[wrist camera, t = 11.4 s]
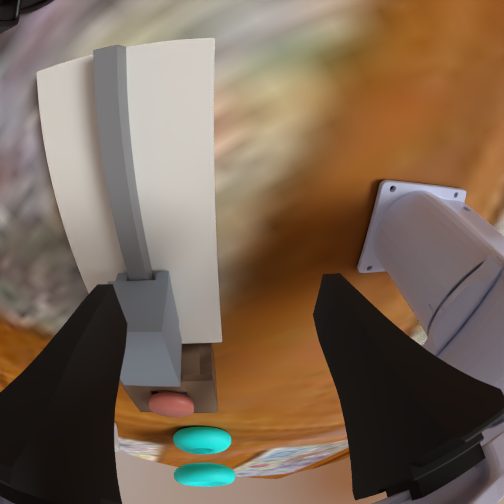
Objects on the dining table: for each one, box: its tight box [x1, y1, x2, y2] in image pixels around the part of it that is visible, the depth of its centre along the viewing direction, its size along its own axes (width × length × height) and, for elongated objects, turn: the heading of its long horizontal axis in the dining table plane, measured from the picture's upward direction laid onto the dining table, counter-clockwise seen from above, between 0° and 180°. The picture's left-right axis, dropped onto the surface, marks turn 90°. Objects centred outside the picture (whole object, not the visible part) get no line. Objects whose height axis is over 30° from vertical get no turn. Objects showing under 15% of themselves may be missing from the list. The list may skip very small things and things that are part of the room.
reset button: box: [149, 391, 194, 417], centre depth 24 cm, size 4×4×5 cm
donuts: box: [173, 427, 235, 487], centre depth 38 cm, size 10×10×10 cm
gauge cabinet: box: [119, 343, 218, 413], centre depth 24 cm, size 8×7×5 cm
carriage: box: [107, 271, 182, 387], centre depth 17 cm, size 4×6×5 cm, turn 178°
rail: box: [37, 38, 222, 344], centre depth 17 cm, size 10×22×3 cm, turn 178°
